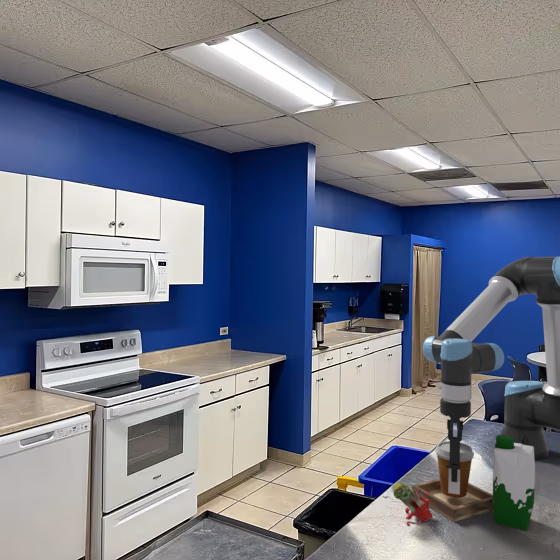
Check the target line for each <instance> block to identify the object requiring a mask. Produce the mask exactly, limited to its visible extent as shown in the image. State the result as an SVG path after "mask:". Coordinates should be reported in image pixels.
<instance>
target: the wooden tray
mask: <svg viewBox="0 0 560 560" xmlns="http://www.w3.org/2000/svg"><path fill="white" fill-rule="evenodd" d="M411 489H413V490H414V491H415V492H418V491H419V489H420V491H419V494H420V496H421V497H423V498H424V499H429V500H430V501H429V509H432V510H433V511H435V512H436V513H438V514H439V515H441V516H443V517H445V518H447V519H448V520H449V521H451V522H453V523H455V522H459V521H461V520H465V519H468V518H472V517H476V516H478V514H479V515H483V514H486V513H489V512H492V510H493V511H494V509H493V493H490V492H488V491H486V490H484V489H482V488H480V487H478V486H476V485H474V484H472V483H470V482H468V488H467V495H466V496H465V497H462V498H454V497H449V496H446V495H444V494H443V493H442V492H441V485H440V478H436V479H432V480H428V481H423V482H420V483H416V484H412V485H411ZM426 493H428V496H426ZM485 512H486V513H485ZM482 513H483V514H482Z"/></svg>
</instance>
